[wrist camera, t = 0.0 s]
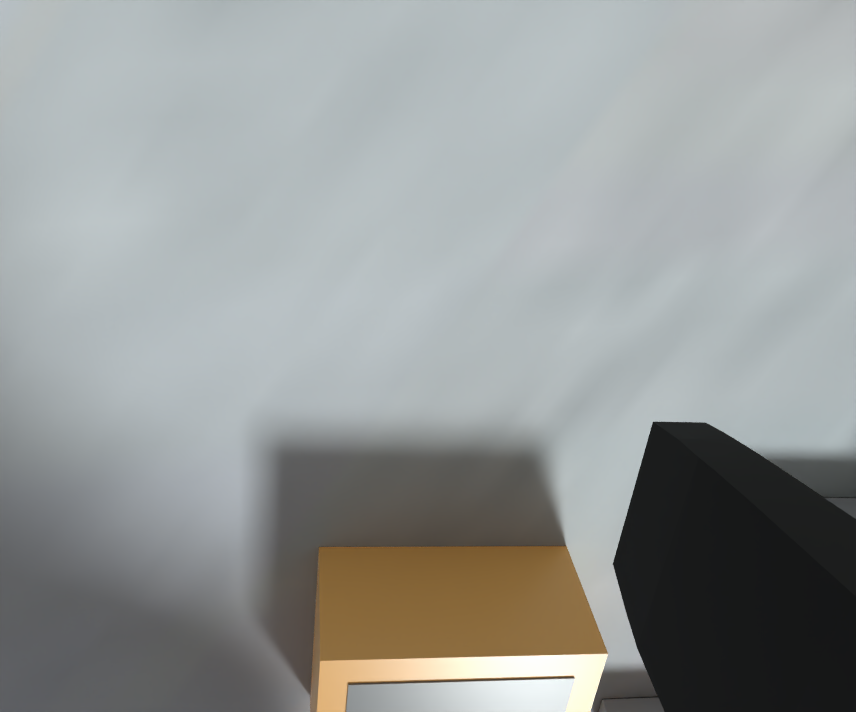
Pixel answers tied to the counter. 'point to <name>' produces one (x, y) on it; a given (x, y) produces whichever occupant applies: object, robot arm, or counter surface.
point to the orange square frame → (453, 631)
